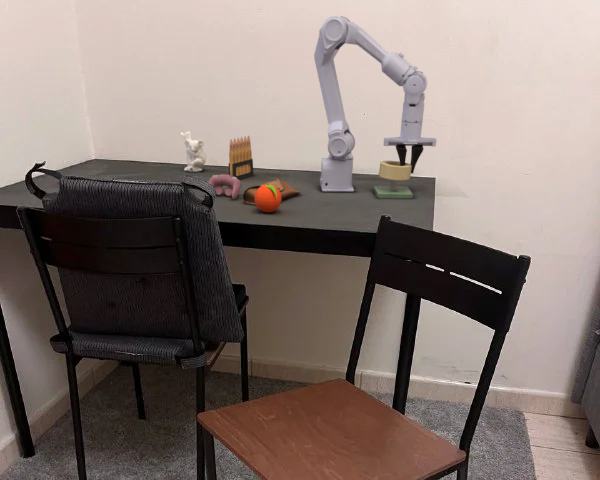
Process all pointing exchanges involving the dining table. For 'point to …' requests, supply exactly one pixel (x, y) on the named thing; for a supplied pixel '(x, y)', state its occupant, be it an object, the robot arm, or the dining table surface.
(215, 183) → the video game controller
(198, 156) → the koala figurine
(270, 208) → the clementine
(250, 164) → the ammunition clip
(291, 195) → the sunglasses case
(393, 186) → the peg stand
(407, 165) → the masking tape roll
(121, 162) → the dining table surface
